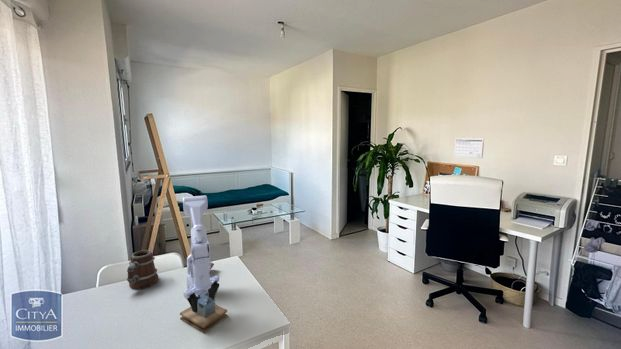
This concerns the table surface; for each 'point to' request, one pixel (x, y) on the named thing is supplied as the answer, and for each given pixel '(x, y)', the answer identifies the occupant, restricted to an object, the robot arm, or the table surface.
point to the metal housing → (205, 305)
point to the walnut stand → (201, 322)
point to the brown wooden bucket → (142, 270)
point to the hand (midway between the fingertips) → (203, 306)
